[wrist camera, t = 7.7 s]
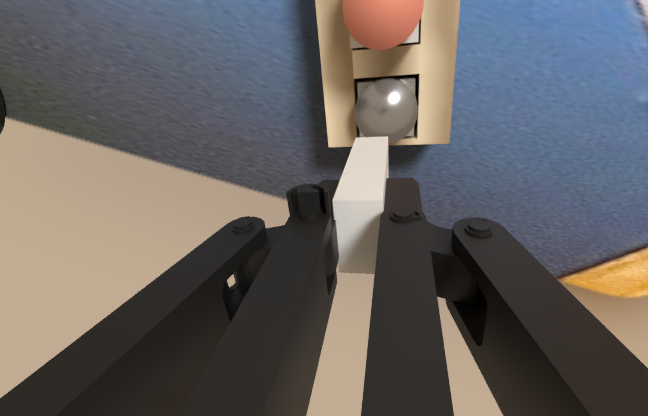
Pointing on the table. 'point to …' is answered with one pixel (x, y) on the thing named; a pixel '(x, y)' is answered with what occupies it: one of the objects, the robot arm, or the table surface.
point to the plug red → (382, 22)
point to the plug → (386, 107)
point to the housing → (390, 71)
